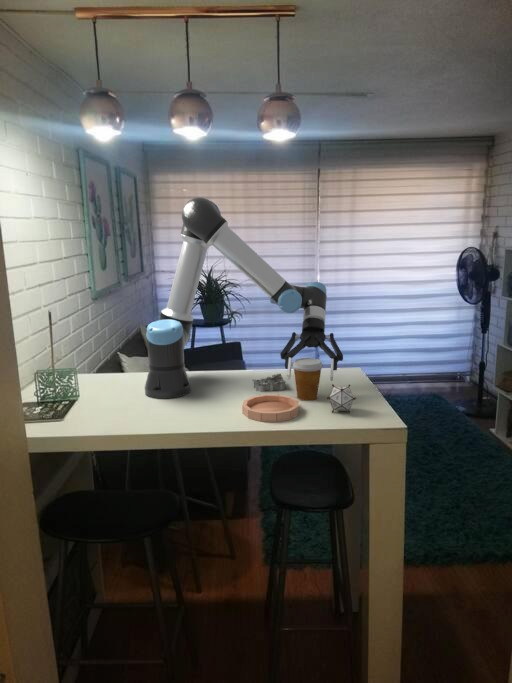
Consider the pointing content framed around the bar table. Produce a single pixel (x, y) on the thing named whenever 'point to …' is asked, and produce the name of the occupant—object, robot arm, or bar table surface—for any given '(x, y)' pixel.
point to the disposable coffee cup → (307, 377)
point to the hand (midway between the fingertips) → (310, 378)
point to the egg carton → (269, 383)
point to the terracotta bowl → (270, 408)
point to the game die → (341, 398)
